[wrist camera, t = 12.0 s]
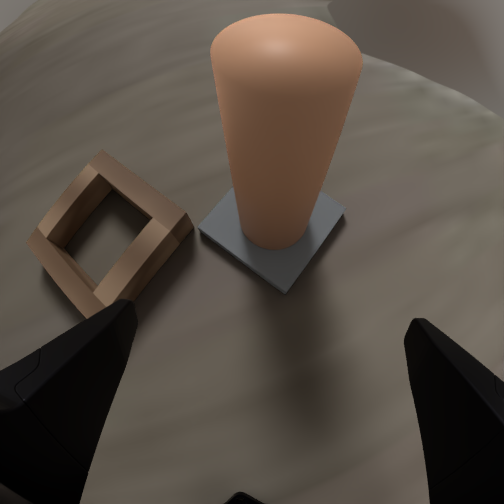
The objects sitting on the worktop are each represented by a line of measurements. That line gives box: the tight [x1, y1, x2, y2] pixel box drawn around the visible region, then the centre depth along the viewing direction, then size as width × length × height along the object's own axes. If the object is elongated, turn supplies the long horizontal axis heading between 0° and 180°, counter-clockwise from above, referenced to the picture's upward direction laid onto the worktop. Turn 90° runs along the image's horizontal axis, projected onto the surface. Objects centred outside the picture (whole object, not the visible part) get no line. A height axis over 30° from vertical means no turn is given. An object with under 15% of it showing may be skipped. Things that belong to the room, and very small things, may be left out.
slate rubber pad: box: [198, 187, 346, 294], centre depth 20 cm, size 7×7×1 cm
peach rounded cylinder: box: [210, 14, 363, 250], centre depth 14 cm, size 4×4×13 cm
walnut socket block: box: [26, 150, 194, 319], centre depth 19 cm, size 9×9×2 cm
